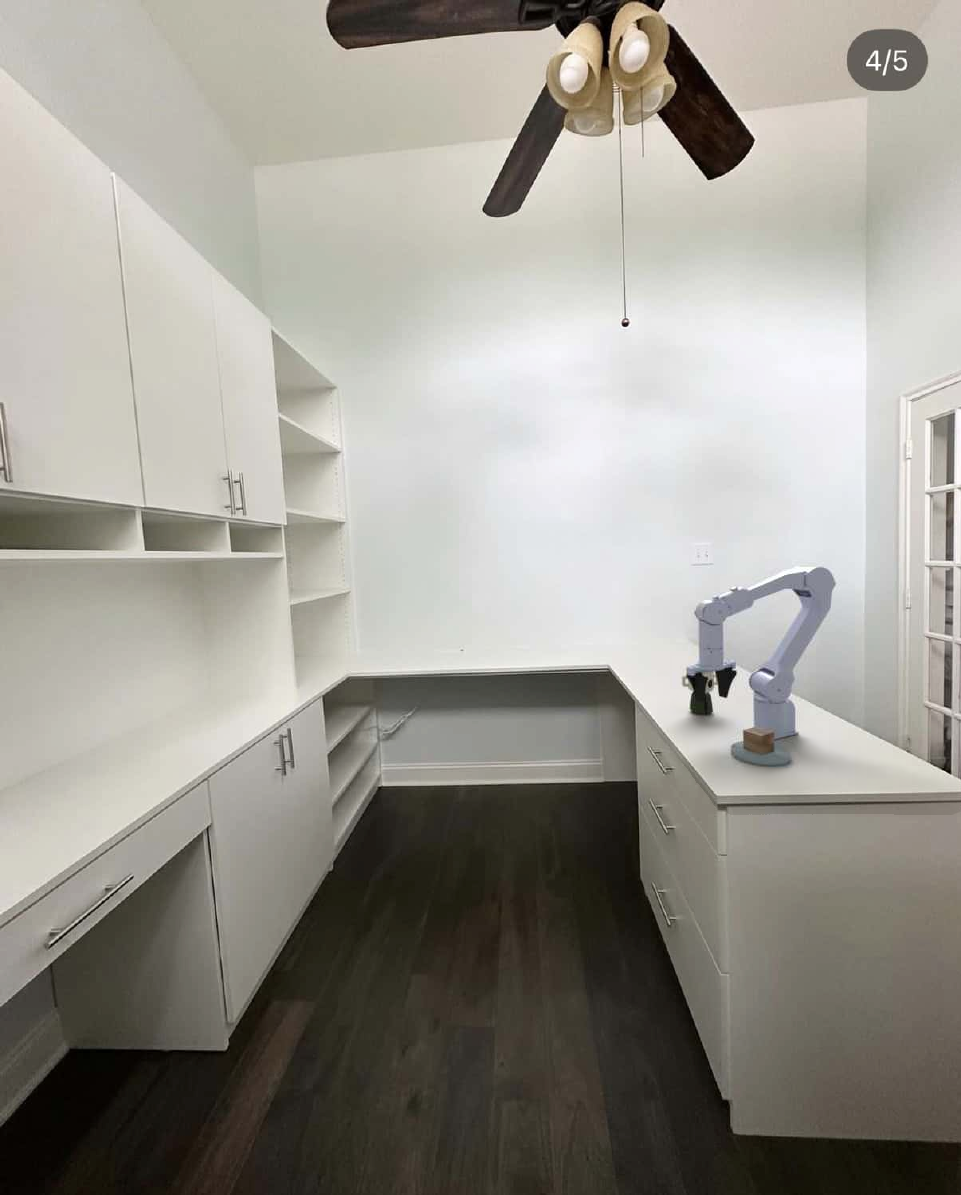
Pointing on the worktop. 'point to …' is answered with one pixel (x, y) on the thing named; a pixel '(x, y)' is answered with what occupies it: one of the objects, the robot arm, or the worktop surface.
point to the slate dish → (770, 759)
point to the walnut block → (758, 740)
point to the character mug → (707, 705)
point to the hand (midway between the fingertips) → (711, 699)
